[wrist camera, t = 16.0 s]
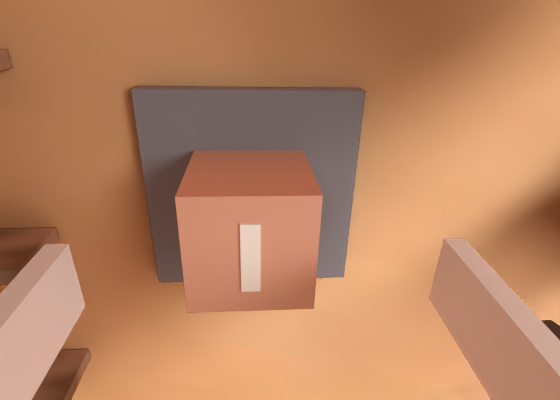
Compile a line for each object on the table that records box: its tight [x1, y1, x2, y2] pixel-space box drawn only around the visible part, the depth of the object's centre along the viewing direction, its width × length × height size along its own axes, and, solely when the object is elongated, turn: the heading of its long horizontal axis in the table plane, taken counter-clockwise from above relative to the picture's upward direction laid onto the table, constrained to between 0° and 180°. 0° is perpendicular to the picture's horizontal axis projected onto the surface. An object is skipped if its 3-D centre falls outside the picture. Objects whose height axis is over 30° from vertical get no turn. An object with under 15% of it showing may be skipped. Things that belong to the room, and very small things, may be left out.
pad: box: [131, 86, 365, 283], centre depth 21 cm, size 11×11×1 cm
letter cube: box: [175, 150, 323, 313], centre depth 18 cm, size 6×6×6 cm
